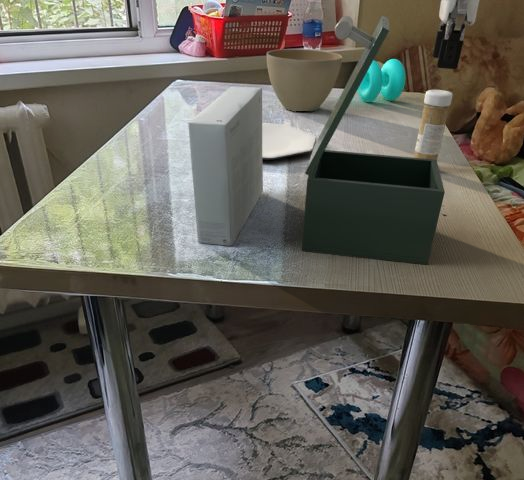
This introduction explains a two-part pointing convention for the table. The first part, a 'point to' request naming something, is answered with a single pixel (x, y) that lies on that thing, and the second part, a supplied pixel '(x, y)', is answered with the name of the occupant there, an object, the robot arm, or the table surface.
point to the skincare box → (226, 163)
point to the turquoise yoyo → (383, 81)
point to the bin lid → (372, 47)
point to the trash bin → (373, 206)
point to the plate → (285, 141)
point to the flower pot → (302, 76)
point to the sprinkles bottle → (432, 124)
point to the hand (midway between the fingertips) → (444, 62)
